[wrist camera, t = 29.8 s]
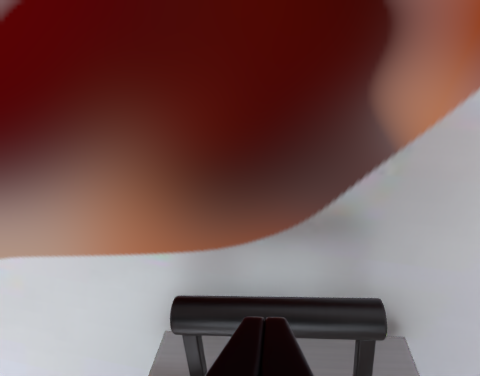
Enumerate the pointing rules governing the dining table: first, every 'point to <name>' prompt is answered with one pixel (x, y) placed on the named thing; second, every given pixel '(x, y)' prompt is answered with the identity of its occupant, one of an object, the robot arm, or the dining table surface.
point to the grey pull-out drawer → (302, 325)
